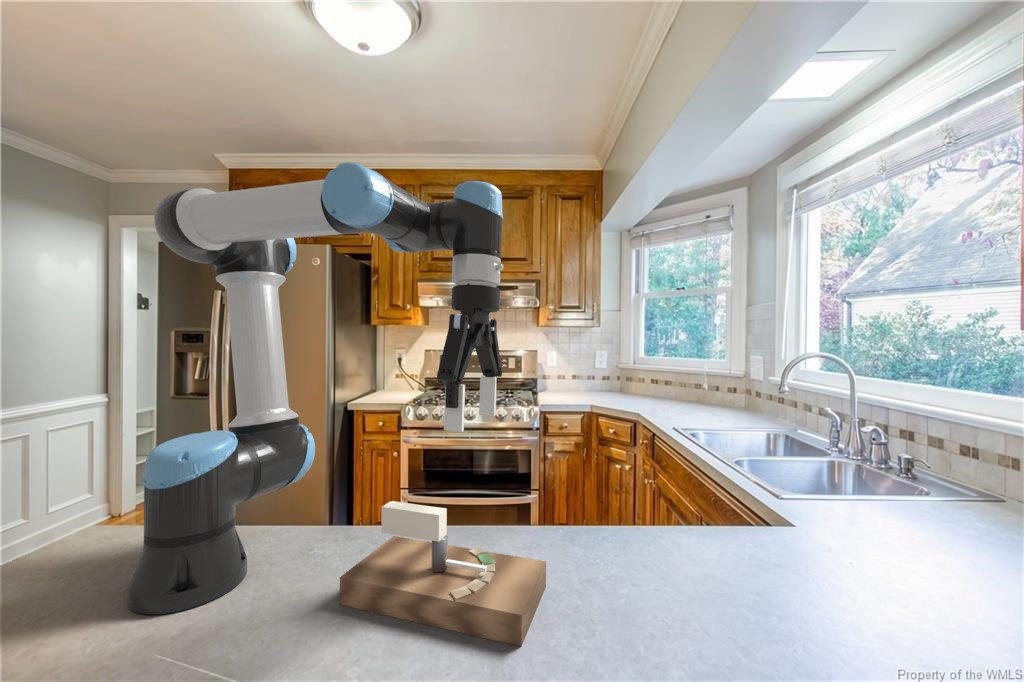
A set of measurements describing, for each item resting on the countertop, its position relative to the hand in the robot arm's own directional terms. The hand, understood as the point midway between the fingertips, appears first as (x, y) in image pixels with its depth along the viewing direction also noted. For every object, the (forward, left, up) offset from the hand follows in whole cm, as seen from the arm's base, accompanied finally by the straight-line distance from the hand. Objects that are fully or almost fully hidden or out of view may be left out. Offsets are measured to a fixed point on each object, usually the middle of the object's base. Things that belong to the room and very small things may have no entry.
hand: (472, 422), depth 66 cm
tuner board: (-3, -2, -26) cm, 27 cm away
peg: (-4, -3, -22) cm, 23 cm away
